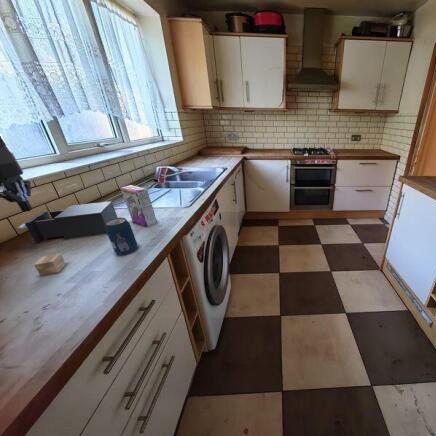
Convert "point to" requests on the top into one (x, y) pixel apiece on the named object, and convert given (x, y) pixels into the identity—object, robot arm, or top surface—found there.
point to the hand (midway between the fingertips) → (27, 210)
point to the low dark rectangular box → (85, 219)
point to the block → (50, 264)
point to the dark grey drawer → (43, 225)
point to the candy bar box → (139, 205)
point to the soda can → (121, 236)
